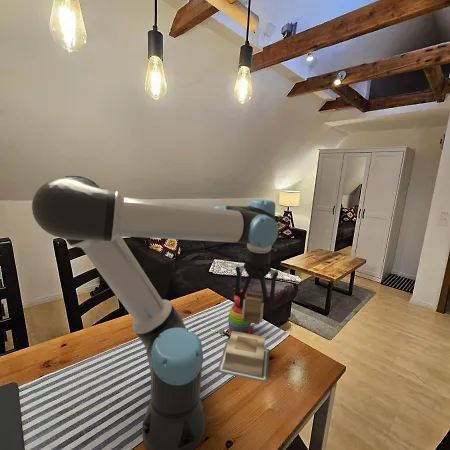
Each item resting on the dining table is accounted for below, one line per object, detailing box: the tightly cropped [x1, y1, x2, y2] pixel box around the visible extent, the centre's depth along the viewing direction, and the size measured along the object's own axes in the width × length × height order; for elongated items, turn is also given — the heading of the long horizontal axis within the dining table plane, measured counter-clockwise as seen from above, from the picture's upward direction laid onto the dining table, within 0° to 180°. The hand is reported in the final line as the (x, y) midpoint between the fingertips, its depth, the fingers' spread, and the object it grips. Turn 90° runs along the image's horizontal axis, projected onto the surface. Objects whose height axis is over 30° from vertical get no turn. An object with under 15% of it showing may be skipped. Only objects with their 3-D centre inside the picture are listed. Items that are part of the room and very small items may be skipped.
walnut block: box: [244, 291, 263, 325], centre depth 83 cm, size 5×5×8 cm
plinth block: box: [224, 331, 266, 376], centre depth 87 cm, size 12×12×6 cm
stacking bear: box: [227, 289, 254, 334], centre depth 101 cm, size 11×10×18 cm
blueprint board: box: [216, 340, 270, 383], centre depth 87 cm, size 16×16×1 cm
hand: (252, 317), depth 83 cm, fingers closed on walnut block, 5 cm apart
